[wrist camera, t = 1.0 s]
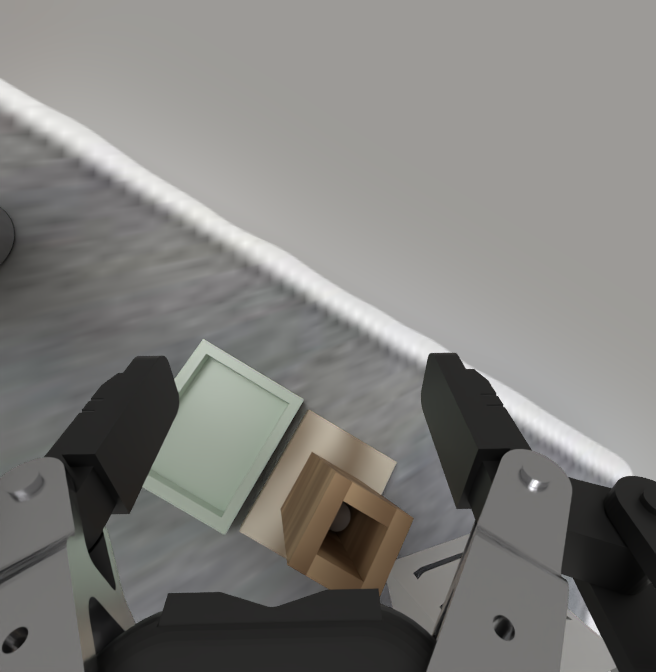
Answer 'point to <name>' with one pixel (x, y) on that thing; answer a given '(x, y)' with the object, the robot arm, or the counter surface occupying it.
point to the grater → (432, 588)
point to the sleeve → (352, 542)
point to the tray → (219, 436)
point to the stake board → (307, 438)
